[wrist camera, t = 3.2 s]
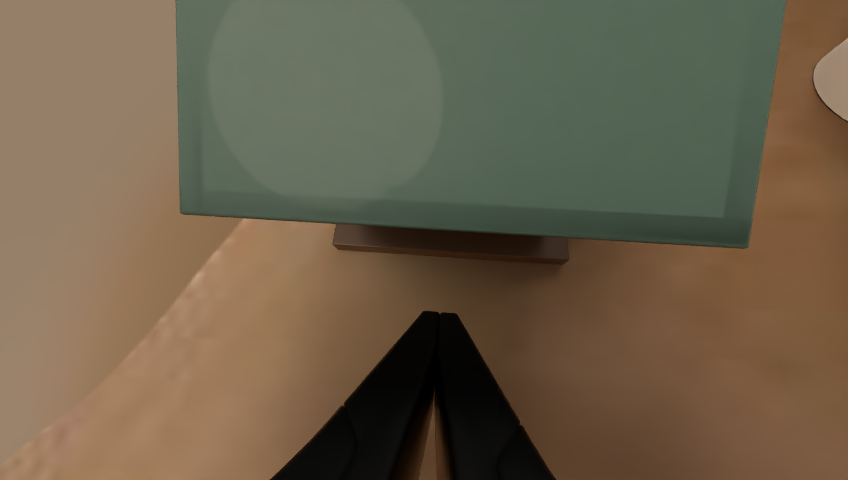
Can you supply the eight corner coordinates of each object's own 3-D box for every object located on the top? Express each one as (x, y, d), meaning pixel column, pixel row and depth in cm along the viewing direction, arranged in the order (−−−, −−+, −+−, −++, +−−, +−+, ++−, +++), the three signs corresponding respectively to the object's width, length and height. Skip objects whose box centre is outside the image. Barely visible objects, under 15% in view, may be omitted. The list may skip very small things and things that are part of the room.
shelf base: (562, 265, 18) (569, 260, 17) (337, 249, 19) (332, 244, 18) (555, 131, 21) (560, 121, 20) (360, 125, 22) (356, 114, 21)
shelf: (550, 222, 18) (750, 248, 6) (353, 210, 19) (178, 214, 7) (560, 118, 17) (802, -86, 5) (356, 111, 18) (172, -76, 6)
